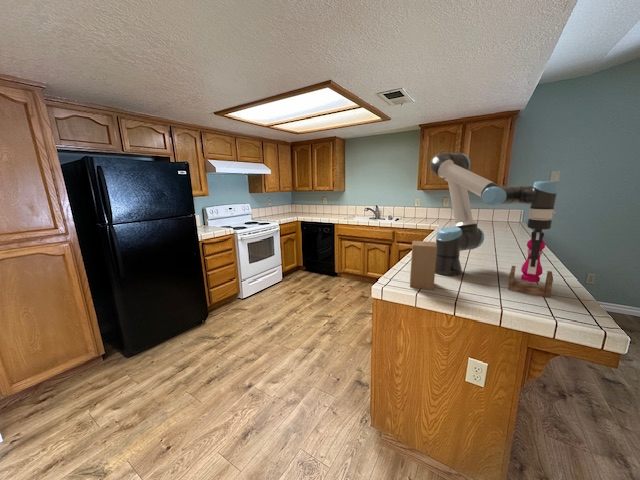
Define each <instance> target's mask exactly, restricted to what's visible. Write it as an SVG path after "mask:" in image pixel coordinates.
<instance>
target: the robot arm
mask: <svg viewBox="0 0 640 480" xmlns="http://www.w3.org/2000/svg"><path fill="white" fill-rule="evenodd" d="M470 168H471V159H470V158H469V156H468V155H467V154H465V153H461V152H439V153H437V154H435V155H434V156H433V157H432V158H431V160H430V162H429V170H430V171H431V173H433V175H435V176H437V177H439V178H441V179H443V180H444V181H445V182H447V183H448V190H449V195H450V199H451V200H450V201H451V206H452V213H453V219H454V225H453V226H445V227H440V228H439V229H438V230H437V232H436V236H435V243H436V246H437V256H436V267H435V274H437V275H442V276H451V277H452V276H453V277H454V276H460V275H461V274H462V271H463V270H462V269H463V268H462V265H461V261H460V254H461V252H462V251H463V252H464V251H469V250H474V249H478V248H479V247H481V246H482V244H483V243H484V240H485V233H484V231H483V230H482V229H481V228H479V227H478V223H477V222H475V221H474V220H473V214H472V209H471V208H472V207H471V202H470V197H469V191H470V192H471V193H473V194H475V195H476V196H478V197H480V198H481V199H482V200H483V202H484V203H485V204H486V205H491V206H498V205H509V204H510V205H511V204H512V205H513V204H523V205H524V204H525V205H526V204H528V205H530V207H529V212H528V213H529V214H528V218H529V219H528V220H527V224H526V225H527V226H526V227H527V228H528V229H534V230H533V231H531V234H530V235H531V236H530V237H531V239H530V240H531V243H532V249H531V256H530V257H528V256H527V258H528V259H529V265H528V271H527V273H529V274H536V268H537V262H538V258H539V257H538V256H539V250H540V244H541V243H542V241H543V238H544V236H545V235H544V234H545V233H544V232H543V230H550V229H551V227H552V223H553V221H552V219H553V215H554V214H556V211H555V210H554V209H555V204H556V200H557V195H558V185H559V184H558V182H557V181H555V180H552V181H551V180H545V181H544V180H542V181H540V180H539V181H538V180H537V181H534V183H533V185H530V186H529V185H526V186H525V185H522V186H521V185H508V186H506V185H505V186H504V185H503V186H502V185H500V184H498V183H495V182H493V181H491V180H489V179H487V178H485V177H483V176H481V175H479V174H476V173H474V172H473V171H471V170H470Z"/></svg>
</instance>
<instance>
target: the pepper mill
mask: <svg viewBox="0 0 640 480" xmlns="http://www.w3.org/2000/svg"><path fill="white" fill-rule="evenodd" d="M526 247H527V250H526V253H527V257H526V260H525V261H524V263H523V264H522V265H521V269H520V271H521V273H522V274H521V276H520V278H521V280H522V281H523V282H527V283H539V282H540V280H541V277H540V276H541V275H543V267H542V263H541V255H543V250H544V249H545V248H546V242H545V241H544V240H542V243H541V244H540V250H539V256H538V257H539V258H538V262H537V268H536V274H529V273H527V271H528V265H529V259H528V257H530V256H531V249H532V243H531V239H529V240H528V241H527V242H526Z"/></svg>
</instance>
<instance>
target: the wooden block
mask: <svg viewBox="0 0 640 480" xmlns="http://www.w3.org/2000/svg"><path fill="white" fill-rule="evenodd" d="M436 256H437V246H436V241H425V240H421V241H420V240H413V241H412V244H411V260H410V276H409V287H410V288H415V289H424V290H431V291H432V290H434V287H435V279H436V276H435V275H436V273H435V267H436Z"/></svg>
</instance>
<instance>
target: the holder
mask: <svg viewBox="0 0 640 480" xmlns="http://www.w3.org/2000/svg"><path fill="white" fill-rule="evenodd" d="M516 268H517V267H516V265H511V268H510V271H509V272H510V273H509V279H508V286H507V290H510V291H514V292H519V293H524V294H528V295H529V294H530V295H534V296H540V297H543V298H544V297H545V298H551V297H550V296H551V293H552V287H553V283H554V277H553V276H554V275H553V271H550V270H547V272H546V277H545V278H546V279H545V284H544V285H541V284H537V283H533V282H527V281H519V280H515V275H516V274H515V273H516Z"/></svg>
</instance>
